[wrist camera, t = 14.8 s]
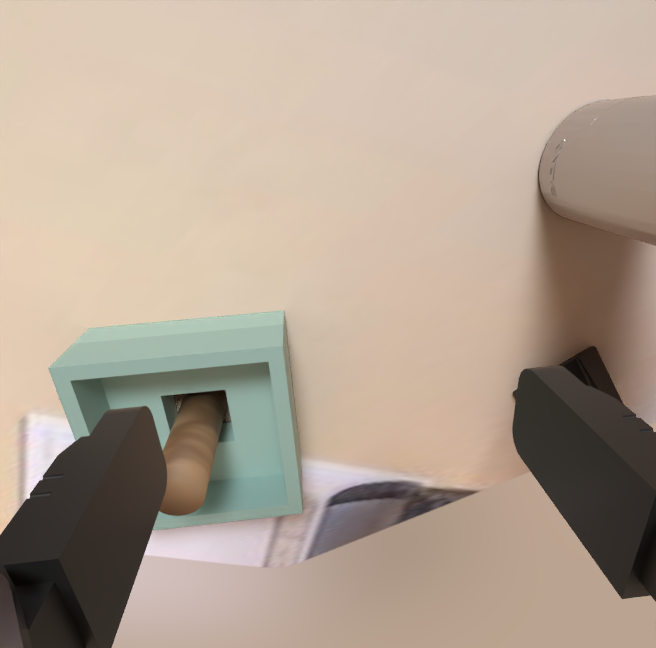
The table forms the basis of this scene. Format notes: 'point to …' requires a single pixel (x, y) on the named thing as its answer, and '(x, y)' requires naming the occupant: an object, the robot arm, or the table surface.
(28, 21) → the table surface
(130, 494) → the robot arm
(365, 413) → the table surface
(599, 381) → the phone stand
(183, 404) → the walnut peg
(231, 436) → the bore box
